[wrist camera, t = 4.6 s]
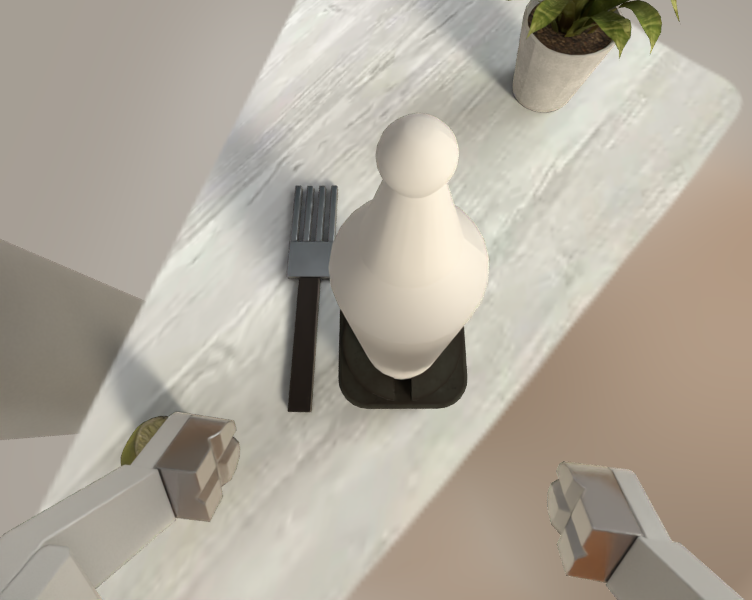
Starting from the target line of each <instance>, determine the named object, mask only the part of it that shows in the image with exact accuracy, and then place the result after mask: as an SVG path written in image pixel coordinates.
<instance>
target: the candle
mask: <svg viewBox="0 0 752 600" xmlns="http://www.w3.org/2000/svg"><path fill="white" fill-rule="evenodd" d="M458 158H459V149H458V144H457V141H456V137H455V135H454V134H453V132H452V130H451V129H450V128H449V127H448V126H447V125H446V124H445V123H444V122H443V121H441V120H440V119H438V118H436V117H435V116H432V115H429V114H425V113H414V114H408V115H406V116H403V117H401V118H399V119H397V120H395V121H394V122H393V123H391V124H390V125H389V126H388V127H387V128H386V129H385V130H384V132H383V134H382V136H381V138H380V140H379V142H378V144H377V149H376V162H377V168H378V171H379V173H380V175H381V177H382V178H383V180H382V182H381V184H380V186H379V188H378V190H377V192H376V194H375V196H374V198H373V199H372V200H370V201H368V202H367V203H365V204H364V205H362V206H361V207H360V208H358V209H357V210H355V211H354V212H353V213H352V214H351V215H350V216H349V218H348V219H347V220H346V221H345V222H344V223H343V225H342V226H341V227H340V229H339V231H338V233H337V236H336V238H335V240H334V242H333V244H332V250H331V255H330V261H329V275H330V284H331V288H332V291H333V293H334V296H335V298H336V301H337V303H338V305H339V307H340V333H339V376H338V378H339V386H340V389H341V391H342V394H343V395H344V396H345V398H346V399H347V400H348V401H349V402H350V403H352V404H353V405H355V406H358V407H360V408H366V409H438V408H445V407H448V406H450V405H453V404H454V403H456V402H457V401H458V400H459V399H460V398H461V396H462V395H463V393H464V392H465V389H466V386H467V365H466V350H465V335H464V325H465V324H466V323H467V321H468V320H469V319H470V318H471V316H472V315H473V313H474V312H475V311H476V309H477V308H478V306H479V305H480V304H481V302H482V299H483V296H484V293H485V290H486V287H487V285H488V272H489V257H488V253H487V249H486V244H485V240H484V238H483V237H482V235H481V233H480V231H479V229H478V228H477V226H476V224H475V223H474V222H473V221H472V220H471V218H470V217H469V216H468V215H467V214H466V213H465V212H464V211H463V210H462V209H461V208H459V207H457V206H456V205H454V202H453V199H452V196H451V192H450V189H449V186H448V183H447V182H448V181H449V180H450V178H451V177H452V176H453V175H454V172H455V170H456V167H457V164H458Z"/></svg>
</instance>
